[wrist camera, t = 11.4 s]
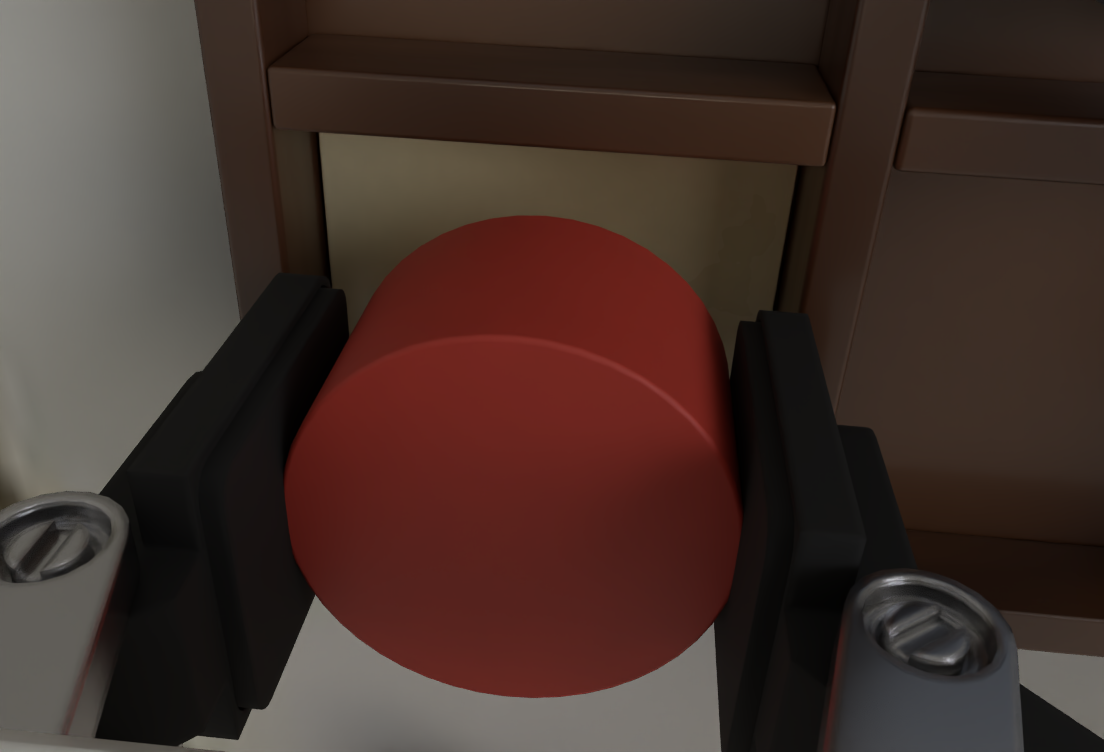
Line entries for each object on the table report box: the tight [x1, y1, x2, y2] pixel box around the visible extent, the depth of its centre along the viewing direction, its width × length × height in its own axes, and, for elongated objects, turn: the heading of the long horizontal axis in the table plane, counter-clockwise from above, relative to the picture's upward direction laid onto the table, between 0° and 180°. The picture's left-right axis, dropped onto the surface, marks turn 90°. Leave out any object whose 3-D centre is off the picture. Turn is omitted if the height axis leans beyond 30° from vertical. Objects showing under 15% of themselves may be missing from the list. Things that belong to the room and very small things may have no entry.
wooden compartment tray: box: [194, 0, 1104, 657], centre depth 11 cm, size 14×14×2 cm
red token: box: [283, 215, 744, 698], centre depth 11 cm, size 5×5×3 cm
